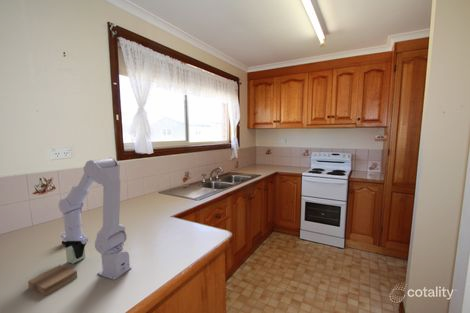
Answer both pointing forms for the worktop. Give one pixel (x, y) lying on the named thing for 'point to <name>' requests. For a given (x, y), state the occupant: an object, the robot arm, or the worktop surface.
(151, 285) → the worktop surface
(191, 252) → the worktop surface
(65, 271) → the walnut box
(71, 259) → the sage-green block
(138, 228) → the worktop surface
